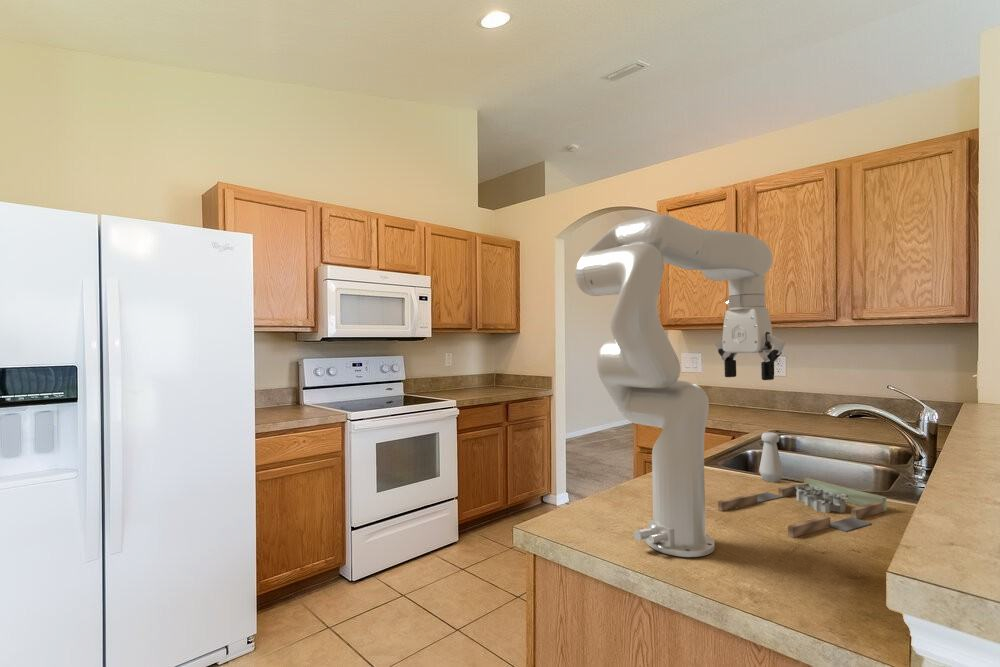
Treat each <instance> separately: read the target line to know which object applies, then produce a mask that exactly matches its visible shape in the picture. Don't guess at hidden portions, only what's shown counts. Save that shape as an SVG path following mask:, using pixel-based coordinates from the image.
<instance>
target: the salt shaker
mask: <svg viewBox="0 0 1000 667" xmlns="http://www.w3.org/2000/svg"><path fill="white" fill-rule="evenodd" d="M760 439H761V441H762V442H763V445H762V451H761V457H760V458H761V459H760V463H759V464H760V465H759V469H758V472H759V474H760V477H761V478H762V480H763V481H765V482H768V481H769V483H779V482H780V481H781V479H782V477H783V475H784V470H783V467H782V466H783V465H782V462H781V459H780V453H779V449H778V444H777V443H779V442H780V435H779V434H778V433H776V432H771V431H768V432H767V431H766V432H763V433H762V434H761V438H760Z"/></svg>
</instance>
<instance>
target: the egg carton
mask: <svg viewBox="0 0 1000 667" xmlns="http://www.w3.org/2000/svg"><path fill="white" fill-rule="evenodd" d="M793 485H794V486H795V488H796V489H797V492H796V494H795V496H796V502H797V501H798V502H802V503H804V505H805V506H806V507H812V508H813V510H814V511H816V512H820V513H821V512H822V513H825V514H828V513H829V514H830V513H831V512H837V513H845V511H847V510H846V508H847V504H846V503H847V502H845V501H844V500H846V499H848V496H847V495H846V494H841V493H840V495H838V494H836V493H835V494H833V493H831V492H827V491H825V492H824V491H823V490H822V489H820V488H817V489H814V487H813V486H812V487H807V486H805V487H804V486H796V485H795V484H793Z"/></svg>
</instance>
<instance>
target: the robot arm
mask: <svg viewBox="0 0 1000 667" xmlns="http://www.w3.org/2000/svg"><path fill="white" fill-rule="evenodd" d="M773 261H774V258H773V253H772V250H771V249H770V247H769V245H768V244H767V243H766V242H765V241H763V240H762V239H760V238H759V237H756V236H754V235H751V234H748V233H742V232H737V231H727V230H719V229H718V230H717V229H705V228H704V229H703V228H699V226H698V227H697V226H695V225H693V224H691V223H689V222H685V221H683V220H681V219H678V218H676V217H673V216H671V215H670V214H669V215H668V214H664V213H663V214H662V213H657V214H650V215H645V216H643V217H638V218H634V219H630V220H626V221H622V222H620V223H618V224H616V225H615V226H613V227H612V228H611V229H609V231H607V232H605V234H604V235H603V236H601V237H600V238H599V239H598V240H597V241H596V242H595V243H593V245H592V246H590V247H589V248H588V249H587V250H586V251H585V252H584V253H583V254H582V255H581V256H580V258H579V259H578V261H577V263H576V266H575V271H574V272H575V273H574V278H575V282H576V285H577V286H578V288H579V290H581V291H582V293H584V294H585V295H589V296H591V297H602V296H604V297H605V296H614V295H615V296H616V295H618V296H617V299H616V303H615V304H614V309H613V310H612V314H611V317H610V330H611V331H610V332H611V335H612V337H613V338H612V339H609V340H607V341H606V342H605V343H603V344H602V345H601V346H600V348H599V350H598V352H597V355H596V356H597V358H596V369H597V372H598V376H599V378H600V381H601V383H602V385H603V387H604V388H605V389H606V391H607V392H608V394H609V396H610V398H611V400H612V401H613V403H614V405H615V406H616V407H617V409H618V411H619V412H620V413H621V415H622V416H623V417H624V418H625V419H626V420H627V421H628V422H630V423H633V424H635V425H636V424H637V425H642V426H648V427H655V428H659V429H661V433H660V435H659V436H658V438H657V439H656V440H655V442H654V444H653V447H652V451H651V467H652V468H651V471H652V472H651V473H652V479H651V480H652V516H653V517H652V519H649V520H648V521H649V522H648V525H647V526H646V528H640V529H635V530H634V531H633V537H634V539H635V541H637V542H641V541H644V540H645V544H647V545H648V546H649V547H650V548H652V549H653V550H655V551H657V552H660V553H662V554H666V555H669V556H672V557H673V556H675V557H679V558H681V557H682V558H698V557H704V556H708V555H710V554H711V553H713V552H714V550H715V549H716V548H715V541H714V539H713V537H711V536H710V535H709V534H707V533H706V500H705V499H706V498H705V496H706V495H705V491H706V490H705V489H706V487H705V486H706V485H705V455H704V454H705V434H706V428H707V425H706V424H707V421H708V416H709V409H710V406H709V405H710V403H709V402H710V401H709V397H708V395H707V393H706V391H705V390H704V388H702V387H701V386H699V385H697V384H696V383H694V382H691V381H686V380H679V378H680V375H681V363H680V360H679V358H678V355H677V352H676V351H675V349H674V347H673V344H672V343H671V341H670V339H669V337H668V336H667V333H666V332H665V329H664V327H663V325H662V323H661V321H660V318H659V315H658V311H657V310H658V307H657V305H658V298H659V292H660V288H661V285H662V280H663V277H664V270H665V268H664V266H665V264H667V265H671V266H673V267H677V268H679V269H683V270H685V271H686V270H687V271H700V272H701V273H702V275H703V277H705V278H706V279H708V280H710V281H713V282H722V281H728V300H726V301H725V305H726V306H727V307H728V310H726V311H725V314H724V319H723V326H722V327H723V328H722V337H720V338H719V339H718V340H715V342H714V344H715V347H716V350H717V353H718V354H719V355H720V357H721V359H722V361H724V363H723V364H724V377H725V378H735V377H737V360H736V359H735V358H736V357H737V355H738V354H757V353H758V355H759V356H760V357H761V359H762V360H763V361H762V362H760V363H761V364H760V365H761V367H760V368H761V379H762V381H773V380H774V379H775V362H777V360H778V358H779V357H780V356H781V354H782V351H783V350H784V347H785V345H786V342H785V341H784V340H783V339H781V338H779V337H777V336H775V335H773V329H772V328H773V327H772V322H771V318H770V317H771V316H770V313H769V309H768V308H766V274H767V273H768V272H769V271H770V269H771V268H772V265H773Z"/></svg>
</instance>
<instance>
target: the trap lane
mask: <svg viewBox="0 0 1000 667" xmlns="http://www.w3.org/2000/svg"><path fill="white" fill-rule="evenodd" d="M794 485H796V486H804V487H805V486H807V487H812V486H813V487H814V489H817V488H820V489H822V490H823V491H824V492H825V491H827V492H831V493H833V494H835V493H836V494H838V495H840V493H841V494H846V495H847V496H848V499H846V500H844V501H845V502H846V503H849V504H853V505H856V506H857V507H852V508H851V512H850V513H851V515H850V517H848V518H847V517H846V518H844V519H843V518H842V519H839V520H836V521H832V522H831V517H830V516H828V515H822V516H820V517H819V516H818V517H815V518H812V519H808V520H805V521H801V522H797V523H794V524H790V525H788V526H787V534H788V537H790V538H793V539H794V538H797V537H801V536H803V535H807V534H810V533H813V532H817V531H821V530H824V529H827V528H833V529H834V530H835V529H836V530H840V531H842V532H846V533H847V532H850V531H852V530H856V529H860V528H863V527H867V526H870V525H872V522H870V521H866V520H863V518H867V517H869V516H873V515H874V516H875V515H877V514H880V513H884V512H886V511H888V509H887V508H888V506H887V497H886V496H883V495H878V494H873V493H870V492H867V491H866V492H865V491H861V490H857V489H854V488H851V487H850V488H849V487H845V486H843V485H838V484H833V483H829V482H827V481H822V480H818V479H813V478H810V477H805V478H803V482H800V483H795V484H792V485H787V486H782V487H778V494H776V493H771V492H768V491H767V492H763V493H757V494H756V493H749V494H746V495H745V494H744V495H741V496H737V497H736V496H735V497H732V498H726V499H723V500H718V501H717V510H718V509H719V510H718V511H720V510H721V512H723V511H722V510H725V511H728V510H727V509H730V510H732V509H731V508H734V509H737V508H736V507H738V508H742V507H741V506H743V507H746V505H747V506H750V505H751V506H752V505H755V503H756V504H759V502H760V503H764V502H769V501H772V500H777V499H781V498H785V497H789V496H793V495H795V496H796V492H797V489H796V488H795V486H794ZM768 500H769V501H768ZM861 519H862V520H861Z"/></svg>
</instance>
